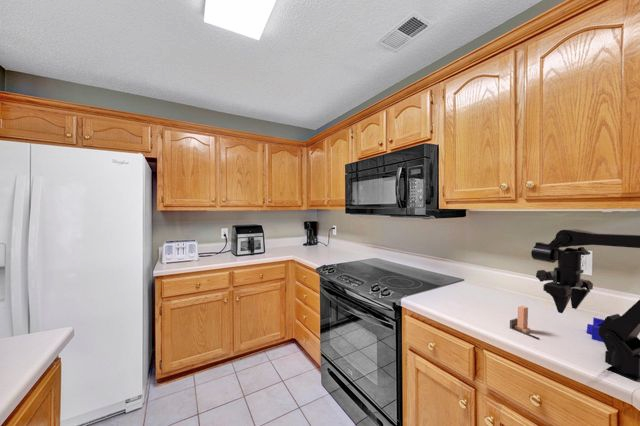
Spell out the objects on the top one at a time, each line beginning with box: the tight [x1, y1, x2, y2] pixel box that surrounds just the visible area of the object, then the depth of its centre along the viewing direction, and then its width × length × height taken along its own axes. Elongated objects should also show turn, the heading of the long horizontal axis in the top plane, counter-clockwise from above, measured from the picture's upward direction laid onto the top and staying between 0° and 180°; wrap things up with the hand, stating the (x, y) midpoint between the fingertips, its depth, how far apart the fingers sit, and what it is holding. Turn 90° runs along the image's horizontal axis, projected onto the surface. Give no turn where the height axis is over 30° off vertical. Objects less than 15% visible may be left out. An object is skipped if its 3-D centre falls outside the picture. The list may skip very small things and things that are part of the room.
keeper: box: [514, 305, 531, 334], centre depth 100 cm, size 4×3×9 cm
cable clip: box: [586, 317, 605, 343], centre depth 97 cm, size 12×4×6 cm, turn 132°
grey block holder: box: [509, 317, 540, 340], centre depth 98 cm, size 10×5×4 cm, turn 24°
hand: (567, 310), depth 90 cm, fingers open, 9 cm apart
